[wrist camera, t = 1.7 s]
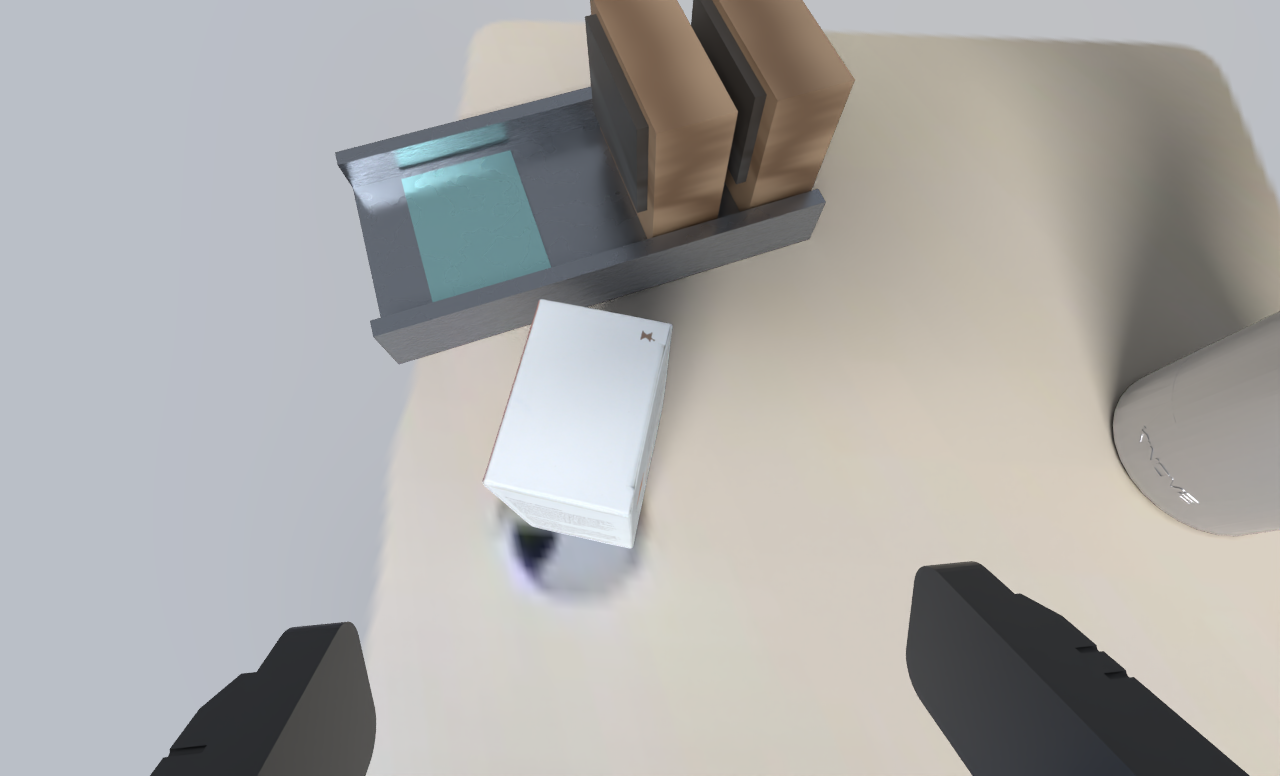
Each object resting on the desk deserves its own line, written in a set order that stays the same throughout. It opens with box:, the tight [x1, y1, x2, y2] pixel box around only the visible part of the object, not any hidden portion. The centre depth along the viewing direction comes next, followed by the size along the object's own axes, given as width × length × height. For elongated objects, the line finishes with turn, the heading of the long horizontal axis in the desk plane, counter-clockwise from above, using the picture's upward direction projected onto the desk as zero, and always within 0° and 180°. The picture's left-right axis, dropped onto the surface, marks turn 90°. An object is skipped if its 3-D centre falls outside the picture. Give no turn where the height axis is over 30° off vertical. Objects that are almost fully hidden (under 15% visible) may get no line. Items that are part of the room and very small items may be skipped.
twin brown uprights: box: [585, 0, 855, 239], centre depth 33 cm, size 11×10×9 cm
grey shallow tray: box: [336, 87, 826, 364], centre depth 36 cm, size 26×13×4 cm, turn 109°
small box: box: [482, 299, 673, 548], centre depth 27 cm, size 8×6×10 cm
